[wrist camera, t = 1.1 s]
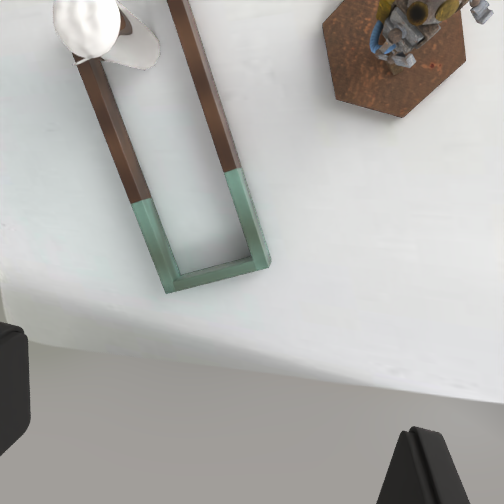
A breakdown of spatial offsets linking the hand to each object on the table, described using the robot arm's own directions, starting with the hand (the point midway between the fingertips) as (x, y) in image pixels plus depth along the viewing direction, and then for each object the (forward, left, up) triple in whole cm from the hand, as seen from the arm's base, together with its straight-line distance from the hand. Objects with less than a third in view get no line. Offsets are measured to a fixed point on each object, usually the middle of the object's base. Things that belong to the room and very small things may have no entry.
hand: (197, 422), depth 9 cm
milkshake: (-17, -8, -26) cm, 32 cm away
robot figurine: (-11, +11, -26) cm, 30 cm away
